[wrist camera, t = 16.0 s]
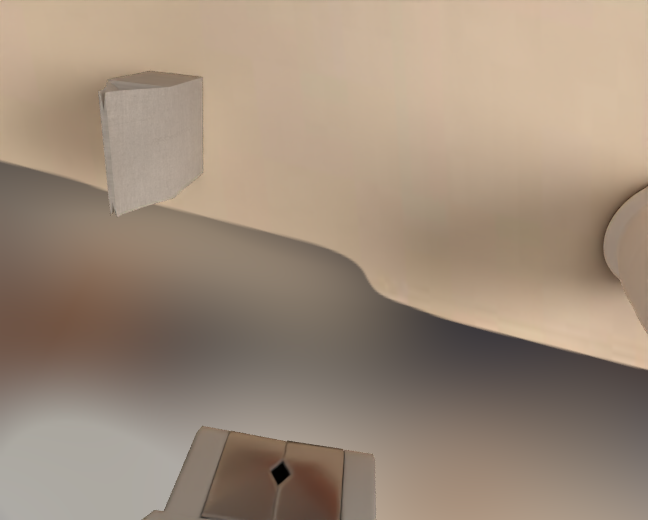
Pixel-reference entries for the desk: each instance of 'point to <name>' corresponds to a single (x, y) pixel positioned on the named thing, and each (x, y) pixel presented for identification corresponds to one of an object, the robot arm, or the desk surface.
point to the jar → (630, 251)
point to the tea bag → (151, 137)
